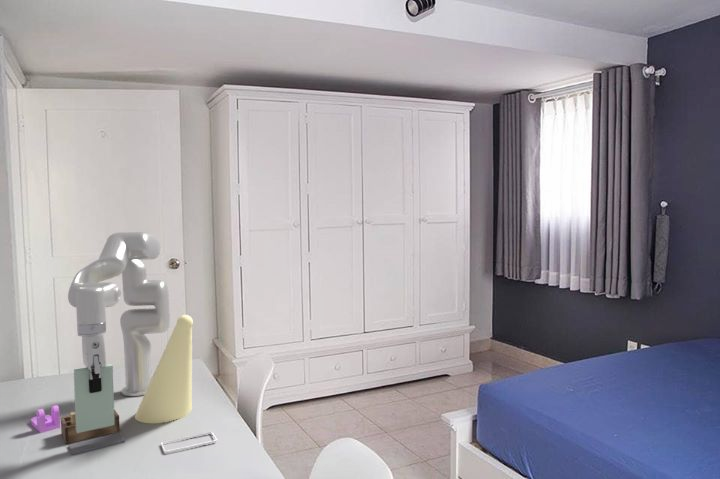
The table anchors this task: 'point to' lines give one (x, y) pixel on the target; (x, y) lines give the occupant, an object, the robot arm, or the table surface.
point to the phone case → (187, 446)
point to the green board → (93, 400)
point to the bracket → (47, 420)
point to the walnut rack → (72, 436)
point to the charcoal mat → (96, 443)
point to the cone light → (171, 379)
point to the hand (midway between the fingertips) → (94, 390)
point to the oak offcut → (72, 418)
